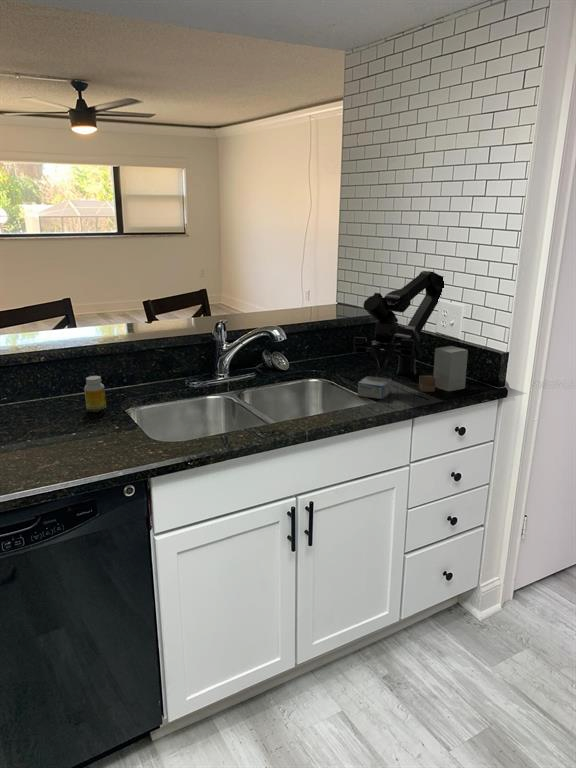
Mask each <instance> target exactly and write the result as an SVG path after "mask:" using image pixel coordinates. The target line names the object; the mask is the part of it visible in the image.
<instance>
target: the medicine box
mask: <svg viewBox="0 0 576 768" xmlns="http://www.w3.org/2000/svg"><path fill="white" fill-rule="evenodd" d="M391 388H392V378H387V377H379V376H370V375H367V376H365V377H364V378H362V379H361V380H360V381H358V383H357V396H358V397H365V398H372V399H379V400H383V399H384V398H385V397H387V396H388V395H389V394H390V393H391V390H392V389H391Z"/></svg>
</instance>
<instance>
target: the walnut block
mask: <svg viewBox="0 0 576 768" xmlns="http://www.w3.org/2000/svg"><path fill="white" fill-rule="evenodd" d="M418 377H419V378H418V379H419V380H418V389H419V391H420V392H426V393H427V392H436V391H435V389H436V387H435V378H434V377H433V375H419V376H418Z"/></svg>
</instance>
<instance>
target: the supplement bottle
mask: <svg viewBox="0 0 576 768" xmlns="http://www.w3.org/2000/svg"><path fill="white" fill-rule="evenodd" d="M85 383H86V384H85V386H84V388H83V389H84V399H85V406H86V408H87V409H86V411H87V410H101V409H104V408H106V409H107V400H106V392H105V391H106V390H105V389H106V388H105V385H104V384H103V383H102V377H101V376H100V375H90V376H87V377H85Z"/></svg>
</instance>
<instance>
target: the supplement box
mask: <svg viewBox="0 0 576 768" xmlns="http://www.w3.org/2000/svg"><path fill="white" fill-rule="evenodd" d="M468 353H469V350H468V349H467V348H466V349H465V348H462V347H457V346H454V345H448V346H442V347H436V348H434V363H433V375H432V376H433V377H434V378H435V388H437V389H441V390H442V391H443V390H444V391H446V392H452V391H458V390H463V389H465V388H466V382H467V381H466V380H467V379H466V378H467V367H468V366H467V365H468V357H469V356H468Z"/></svg>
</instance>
